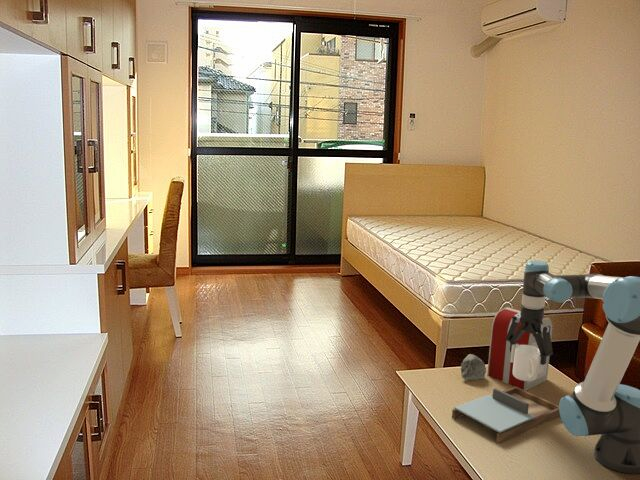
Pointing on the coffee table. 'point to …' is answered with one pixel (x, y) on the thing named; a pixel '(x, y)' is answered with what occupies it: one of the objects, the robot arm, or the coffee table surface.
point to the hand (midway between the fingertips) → (526, 366)
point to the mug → (525, 362)
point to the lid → (497, 410)
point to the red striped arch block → (501, 350)
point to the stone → (472, 368)
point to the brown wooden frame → (537, 408)
